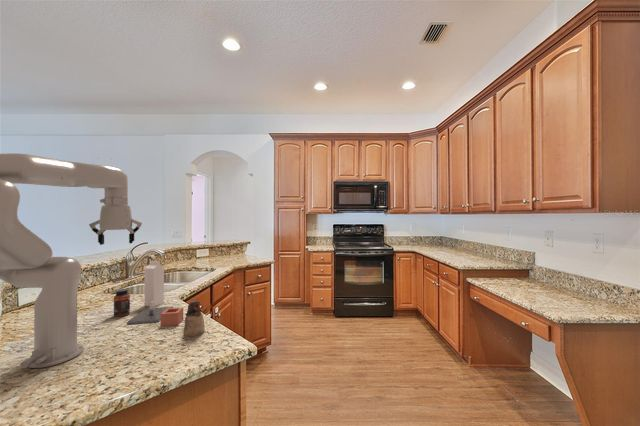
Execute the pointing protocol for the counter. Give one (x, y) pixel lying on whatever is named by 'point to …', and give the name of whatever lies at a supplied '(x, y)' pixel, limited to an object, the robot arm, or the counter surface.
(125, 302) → the supplement bottle
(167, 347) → the counter surface
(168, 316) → the red hollow square block
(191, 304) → the figurine
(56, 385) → the counter surface
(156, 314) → the plate
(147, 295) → the milk
